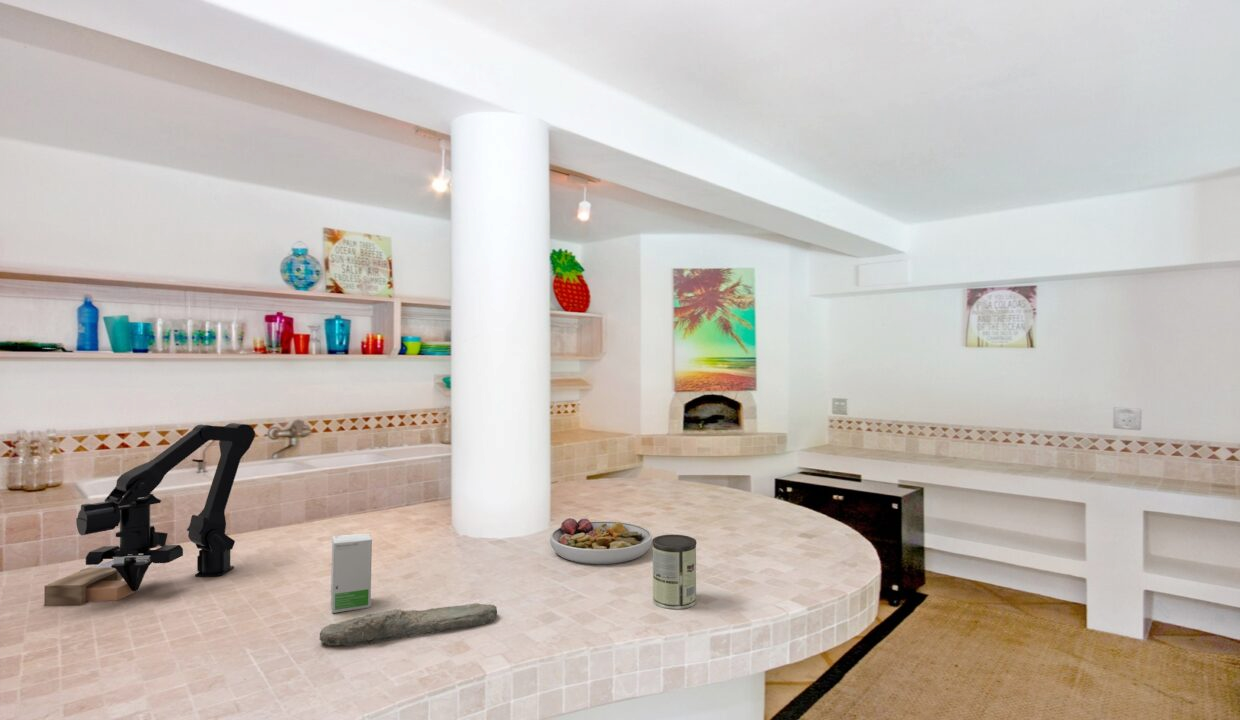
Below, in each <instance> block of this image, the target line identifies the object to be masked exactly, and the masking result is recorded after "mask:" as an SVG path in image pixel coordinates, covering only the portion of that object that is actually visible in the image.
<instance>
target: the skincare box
mask: <svg viewBox="0 0 1240 720" xmlns="http://www.w3.org/2000/svg"><path fill="white" fill-rule="evenodd" d="M331 542H332V543H331V575H330V576H331V578H330V579H331V580H330V607H331V609H330V610H331V613H332V614H336V613H341V612H348V611H355V610H362V609H369V608H371V606H372V604H371V600H372V599H371V597H372V596H371V595H372V593H371V592H372V556H373V555H372V553H373V552H372V551H373V538H372V536H371V534H370V533H355V534H354V533H352V534H345V535H333V536H332V537H331Z"/></svg>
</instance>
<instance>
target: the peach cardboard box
mask: <svg viewBox="0 0 1240 720" xmlns="http://www.w3.org/2000/svg"><path fill="white" fill-rule="evenodd" d="M134 593H135V591H132V590H131V589H130V587H129V586H128V584H127V583H126V581H125V580H121V581H108V580H101V581H99V582H96V583H94V584H91V585H89V586H87V587H86V601H107V602H108V601H110V602H111V601H119V600H121V599H123V598H126V597H127V596H129V595H131V594H134Z"/></svg>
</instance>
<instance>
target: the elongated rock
mask: <svg viewBox="0 0 1240 720" xmlns="http://www.w3.org/2000/svg"><path fill="white" fill-rule="evenodd" d="M497 616H498V610H497V606H496V605H495V604H484V603H476V602H475V603H469V604H464V605H453V606H442V607H436V608H429V609H423V610H416V609H415V610H413V609H412V610H404V609H403V610H402V609H400V608H399V609H397V608H395V609H392V610H388V611H382V612H376V613H367V614H365V615H363V616H361V617H360V616H359V617H355V618H351V619H347V620H343V621H339V622H337V623H330V624H328V625H326V626H324V627H322V628H321V630H320V632H319V639H318V640H319V641H320V642H322V643H323V644H326V645H327V646H359V645H365V644H376V645H377V644H380V643H382V642H389V641H392V640H397V639H403V638H410V637H412V636H415V635H417V634H427V633H429V632H430V633H431V634H436V633H438V632H441V631H447V630H448V631H449V630H459V629H466V628H467V629H468V628H473V627H476V626H479V625H480V626H482V625H485V624H488V623H492V622H494V621H495V620H496V619H497Z"/></svg>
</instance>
